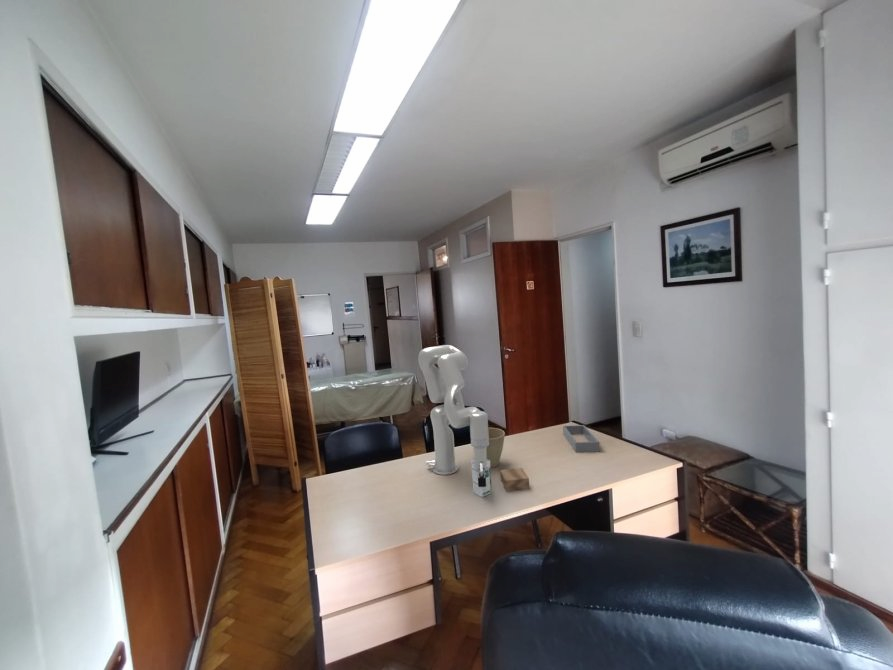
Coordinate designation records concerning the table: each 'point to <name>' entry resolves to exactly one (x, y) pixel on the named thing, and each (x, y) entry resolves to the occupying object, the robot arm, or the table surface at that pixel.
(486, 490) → the syrup box
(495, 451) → the plant pot
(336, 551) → the table surface
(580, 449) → the frame
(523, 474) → the walnut block
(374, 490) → the table surface
